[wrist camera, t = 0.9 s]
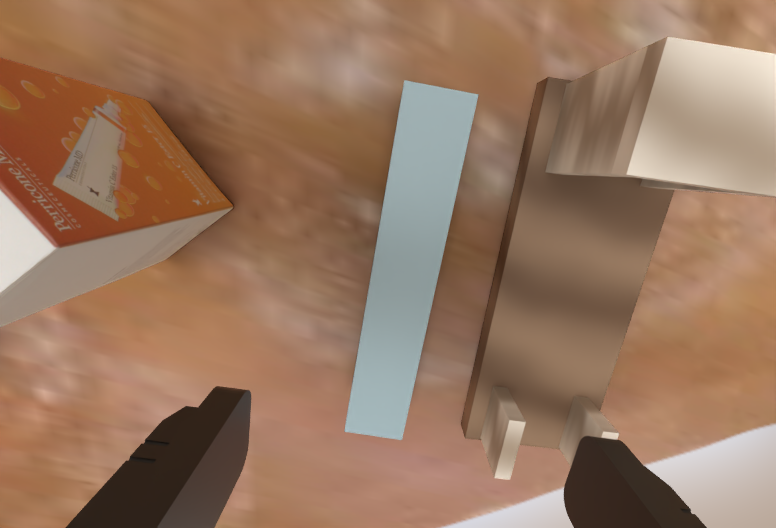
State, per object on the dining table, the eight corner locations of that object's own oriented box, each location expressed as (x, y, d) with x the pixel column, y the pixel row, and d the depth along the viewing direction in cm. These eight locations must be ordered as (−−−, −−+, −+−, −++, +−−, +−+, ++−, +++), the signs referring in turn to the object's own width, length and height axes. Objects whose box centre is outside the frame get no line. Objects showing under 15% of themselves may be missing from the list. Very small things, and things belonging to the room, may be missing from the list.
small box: (237, 206, 23) (61, 252, 11) (166, 261, 24) (-72, 362, 12) (147, 95, 22) (-187, -5, 9) (75, 159, 23) (-320, 148, 10)
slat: (400, 99, 22) (404, 80, 17) (458, 110, 22) (478, 94, 17) (352, 384, 27) (344, 431, 22) (399, 391, 27) (401, 440, 22)
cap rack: (537, 83, 21) (639, 25, 13) (683, 105, 22) (880, 64, 13) (461, 424, 28) (494, 542, 19) (575, 437, 28) (660, 560, 19)
